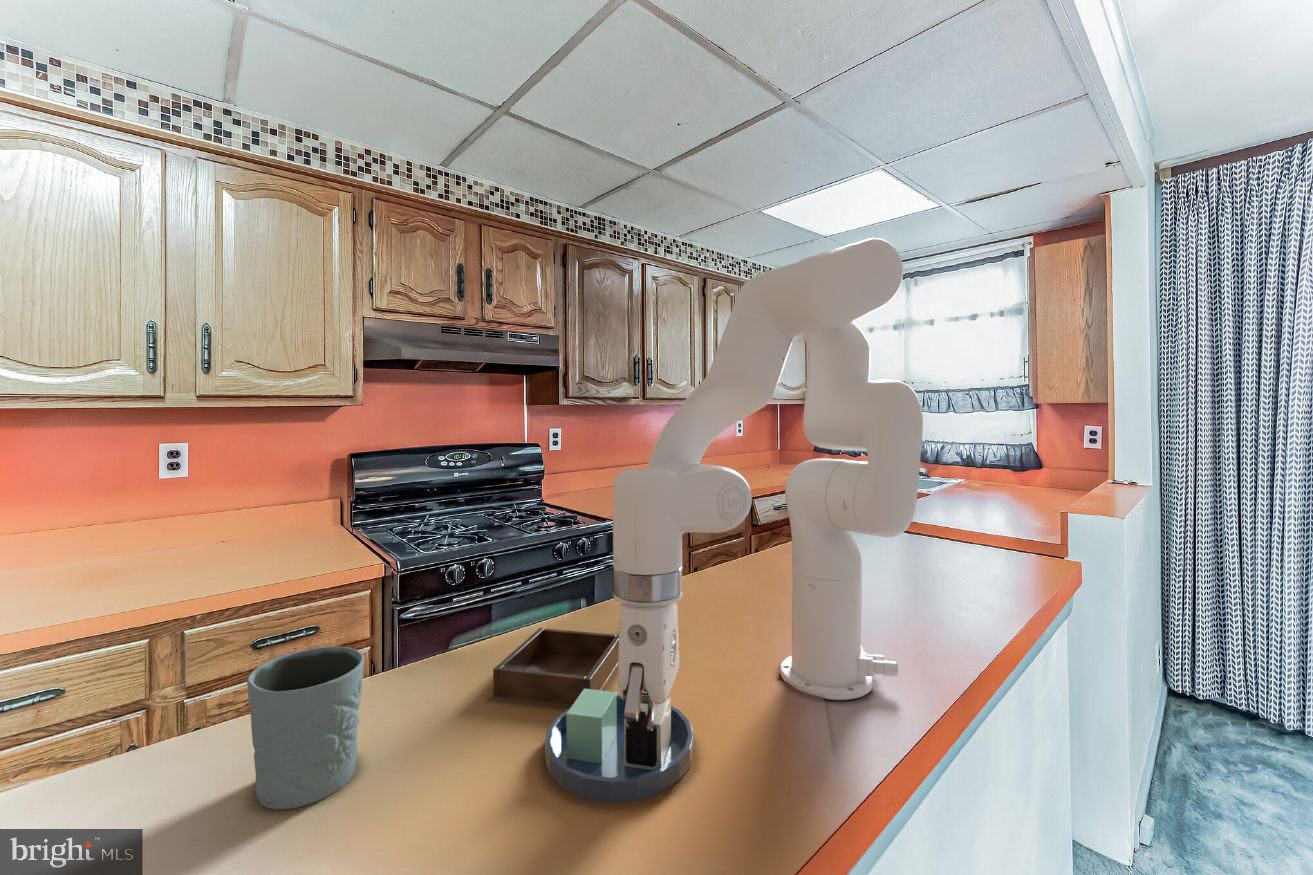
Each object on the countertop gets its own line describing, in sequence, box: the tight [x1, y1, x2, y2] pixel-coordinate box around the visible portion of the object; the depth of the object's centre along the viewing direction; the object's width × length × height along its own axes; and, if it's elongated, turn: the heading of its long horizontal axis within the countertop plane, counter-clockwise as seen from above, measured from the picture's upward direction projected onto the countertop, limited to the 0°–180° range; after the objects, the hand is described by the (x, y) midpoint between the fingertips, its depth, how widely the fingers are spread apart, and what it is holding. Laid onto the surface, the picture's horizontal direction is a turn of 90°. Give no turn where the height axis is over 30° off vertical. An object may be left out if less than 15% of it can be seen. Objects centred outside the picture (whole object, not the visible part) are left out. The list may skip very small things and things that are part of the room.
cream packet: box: [624, 695, 672, 770], centre depth 59 cm, size 4×6×5 cm
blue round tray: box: [544, 694, 695, 803], centre depth 60 cm, size 16×16×2 cm
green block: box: [566, 689, 618, 764], centre depth 60 cm, size 4×6×5 cm
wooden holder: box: [492, 627, 619, 706], centre depth 77 cm, size 14×15×4 cm
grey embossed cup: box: [246, 645, 365, 811], centre depth 55 cm, size 10×10×12 cm
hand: (648, 743), depth 59 cm, fingers closed on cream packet, 5 cm apart
